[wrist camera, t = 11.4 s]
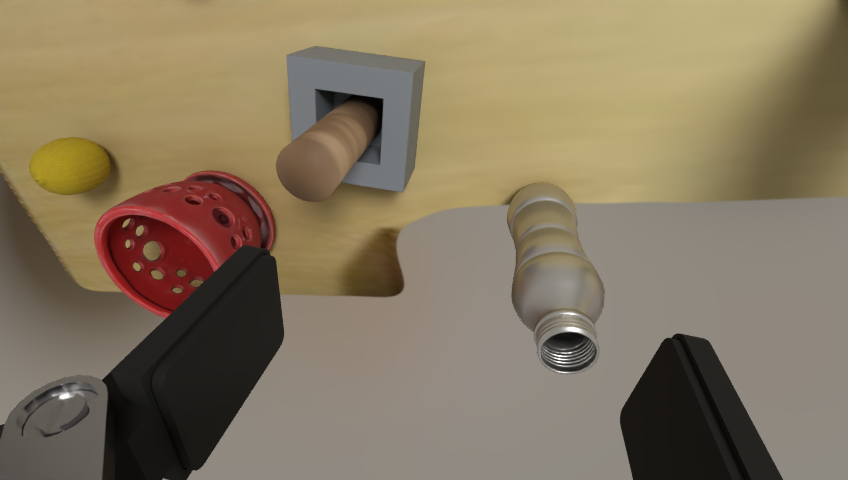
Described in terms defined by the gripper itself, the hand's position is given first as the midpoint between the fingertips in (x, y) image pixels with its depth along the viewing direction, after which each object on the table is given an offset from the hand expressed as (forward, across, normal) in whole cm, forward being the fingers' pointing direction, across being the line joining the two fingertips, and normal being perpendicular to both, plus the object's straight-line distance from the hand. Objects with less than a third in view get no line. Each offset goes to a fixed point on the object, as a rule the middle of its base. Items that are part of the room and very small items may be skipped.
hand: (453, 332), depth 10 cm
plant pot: (+30, +28, +18) cm, 45 cm away
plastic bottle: (+32, -6, +11) cm, 34 cm away
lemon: (+30, +42, +14) cm, 53 cm away
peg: (+29, +12, +4) cm, 32 cm away
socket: (+31, +12, +4) cm, 33 cm away
